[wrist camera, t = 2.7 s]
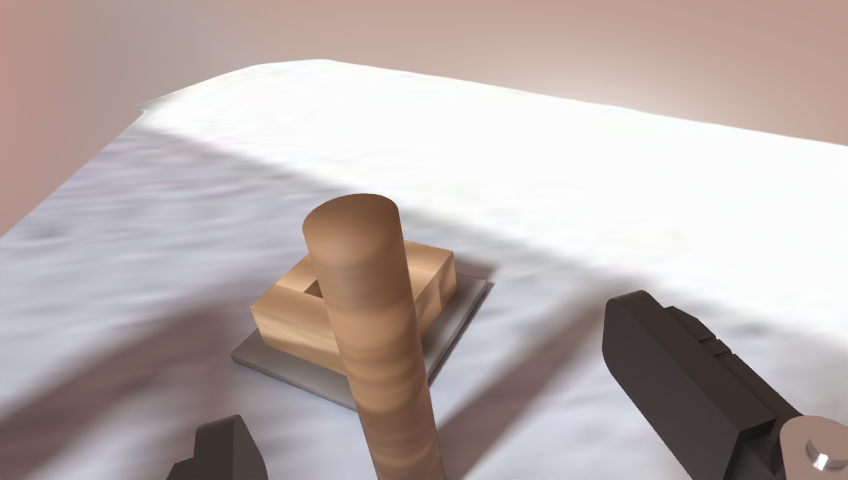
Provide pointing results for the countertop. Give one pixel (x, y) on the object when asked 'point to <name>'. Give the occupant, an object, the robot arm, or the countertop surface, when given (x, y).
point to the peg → (376, 330)
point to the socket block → (313, 335)
